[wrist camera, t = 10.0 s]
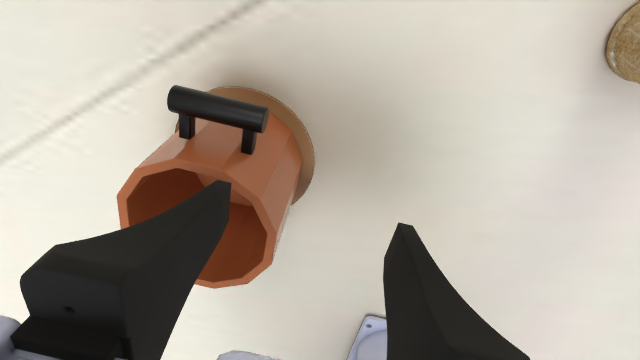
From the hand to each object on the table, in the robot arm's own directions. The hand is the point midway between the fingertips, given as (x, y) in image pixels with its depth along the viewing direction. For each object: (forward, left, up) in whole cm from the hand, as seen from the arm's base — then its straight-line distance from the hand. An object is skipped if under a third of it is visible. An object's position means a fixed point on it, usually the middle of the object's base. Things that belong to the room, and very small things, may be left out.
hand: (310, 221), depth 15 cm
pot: (-3, +6, -10) cm, 11 cm away
